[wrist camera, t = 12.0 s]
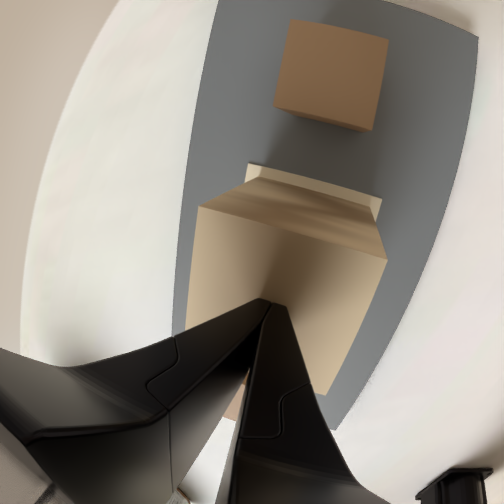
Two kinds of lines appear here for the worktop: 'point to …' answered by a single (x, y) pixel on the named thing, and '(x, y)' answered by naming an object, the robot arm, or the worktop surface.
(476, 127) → the worktop surface
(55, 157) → the worktop surface
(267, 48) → the board
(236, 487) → the robot arm
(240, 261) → the maple block
